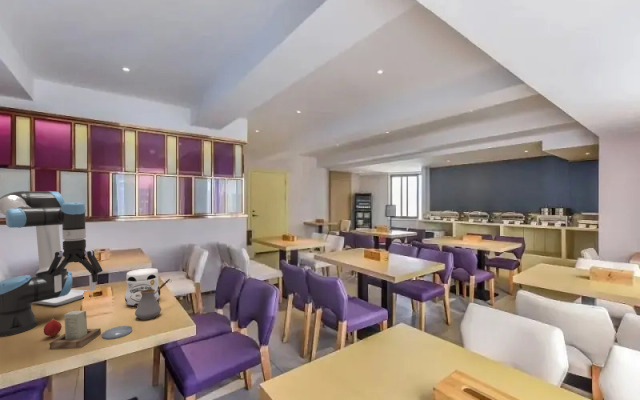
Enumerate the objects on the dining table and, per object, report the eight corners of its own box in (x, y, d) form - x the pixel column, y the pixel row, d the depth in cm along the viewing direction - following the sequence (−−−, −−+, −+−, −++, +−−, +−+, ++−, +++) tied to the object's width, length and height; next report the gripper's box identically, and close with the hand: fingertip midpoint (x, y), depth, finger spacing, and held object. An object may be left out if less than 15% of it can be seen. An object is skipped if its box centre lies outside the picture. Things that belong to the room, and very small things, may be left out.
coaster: (96, 339, 128) (96, 337, 128) (112, 328, 139) (111, 326, 139) (123, 338, 129) (123, 336, 129) (137, 327, 140) (137, 325, 140)
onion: (40, 341, 128) (40, 322, 128) (48, 335, 133) (48, 316, 133) (57, 339, 129) (56, 320, 129) (64, 333, 135) (64, 315, 135)
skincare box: (88, 339, 129) (87, 310, 129) (78, 344, 125) (78, 314, 125) (74, 338, 130) (73, 309, 130) (64, 343, 125) (63, 313, 125)
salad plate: (28, 305, 172) (28, 299, 172) (69, 293, 192) (69, 288, 192) (55, 309, 166) (55, 302, 166) (94, 296, 186) (94, 290, 186)
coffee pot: (148, 322, 146) (148, 291, 146) (129, 320, 149) (128, 289, 149) (179, 306, 167) (179, 279, 166) (161, 304, 169) (161, 277, 169)
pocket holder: (49, 349, 121) (49, 342, 121) (71, 335, 133) (71, 329, 133) (81, 347, 122) (81, 341, 122) (100, 334, 134) (100, 328, 134)
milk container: (136, 310, 161) (135, 276, 161) (118, 305, 169) (117, 272, 169) (167, 301, 176) (166, 269, 175) (149, 296, 184) (148, 266, 184)
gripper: (34, 241, 122) (35, 294, 122) (100, 240, 124) (101, 292, 124) (49, 239, 130) (50, 289, 130) (111, 237, 131) (112, 286, 132)
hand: (75, 290), depth 127 cm, fingers open, 13 cm apart
